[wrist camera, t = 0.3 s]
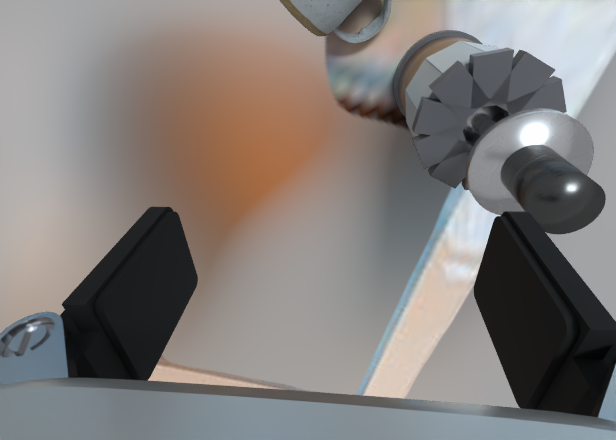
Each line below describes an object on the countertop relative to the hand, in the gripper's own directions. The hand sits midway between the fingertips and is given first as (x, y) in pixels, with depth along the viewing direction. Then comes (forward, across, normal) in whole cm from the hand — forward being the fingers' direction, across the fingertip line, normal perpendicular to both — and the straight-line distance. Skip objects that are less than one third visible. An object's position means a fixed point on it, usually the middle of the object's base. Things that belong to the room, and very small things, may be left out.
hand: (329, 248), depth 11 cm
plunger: (+19, -10, +2) cm, 21 cm away
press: (+31, -10, +2) cm, 33 cm away
